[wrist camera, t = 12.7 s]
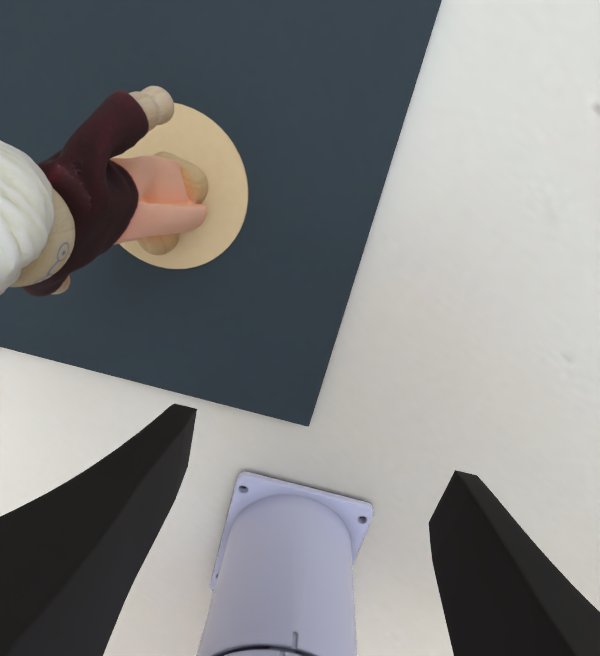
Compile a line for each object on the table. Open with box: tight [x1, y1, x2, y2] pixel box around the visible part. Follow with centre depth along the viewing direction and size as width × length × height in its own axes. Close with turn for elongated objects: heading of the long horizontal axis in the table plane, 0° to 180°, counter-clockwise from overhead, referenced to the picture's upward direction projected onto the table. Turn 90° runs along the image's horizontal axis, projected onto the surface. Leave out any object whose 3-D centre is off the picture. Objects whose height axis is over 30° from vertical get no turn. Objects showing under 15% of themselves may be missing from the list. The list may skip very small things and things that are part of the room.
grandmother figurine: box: [0, 86, 208, 297], centre depth 13 cm, size 8×4×13 cm, turn 153°
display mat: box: [0, 0, 441, 426], centre depth 19 cm, size 20×18×1 cm
